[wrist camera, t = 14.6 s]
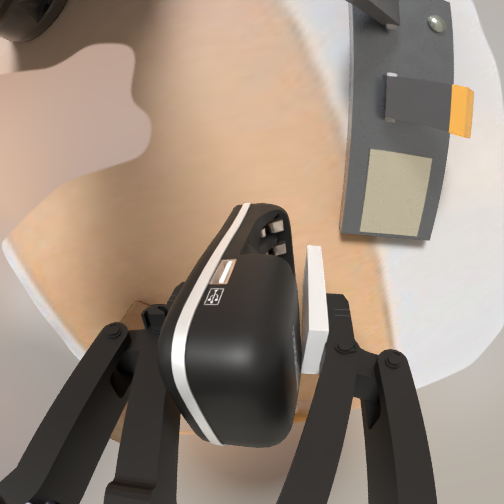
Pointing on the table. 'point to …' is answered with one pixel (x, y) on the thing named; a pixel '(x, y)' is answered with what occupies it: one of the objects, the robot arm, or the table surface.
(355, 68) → the panel
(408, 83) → the lever
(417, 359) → the table surface
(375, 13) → the lever
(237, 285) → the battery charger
